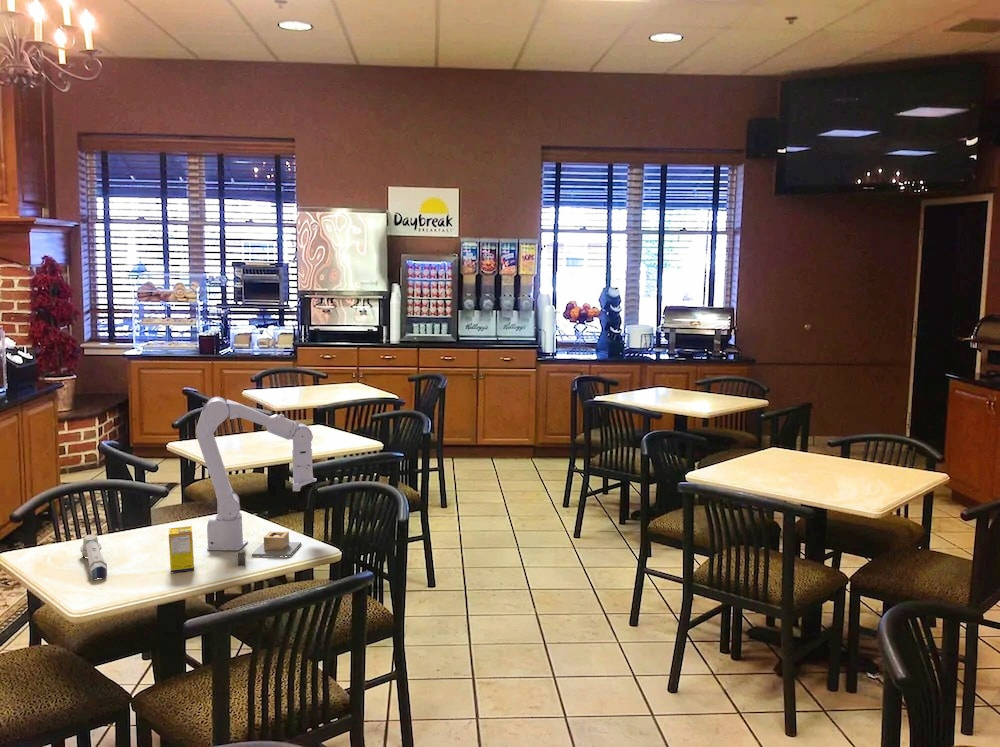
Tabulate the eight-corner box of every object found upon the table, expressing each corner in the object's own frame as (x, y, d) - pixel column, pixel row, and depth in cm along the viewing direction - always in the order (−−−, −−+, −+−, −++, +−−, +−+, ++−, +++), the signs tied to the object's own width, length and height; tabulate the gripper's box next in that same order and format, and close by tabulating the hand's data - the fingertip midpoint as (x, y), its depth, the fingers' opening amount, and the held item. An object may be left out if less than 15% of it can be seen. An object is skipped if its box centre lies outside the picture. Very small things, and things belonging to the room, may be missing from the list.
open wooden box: (264, 551, 239) (263, 537, 239) (270, 544, 245) (269, 531, 245) (283, 551, 239) (283, 537, 239) (289, 545, 245) (288, 531, 244)
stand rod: (236, 565, 230) (236, 553, 229) (239, 563, 232) (238, 550, 231) (243, 565, 230) (243, 553, 229) (246, 563, 232) (246, 550, 231)
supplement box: (193, 563, 231) (191, 525, 230) (194, 570, 226) (192, 531, 225) (170, 566, 229) (168, 527, 228) (170, 573, 224) (168, 534, 223)
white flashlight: (87, 568, 218) (78, 530, 238) (88, 591, 219) (80, 552, 240) (109, 564, 220) (99, 528, 241) (110, 587, 222) (100, 549, 243)
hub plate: (251, 556, 237) (251, 541, 237) (264, 544, 248) (264, 530, 248) (289, 557, 237) (289, 542, 236) (301, 544, 247) (300, 530, 247)
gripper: (308, 470, 243) (310, 515, 244) (322, 459, 257) (323, 502, 259) (285, 470, 243) (286, 515, 245) (299, 459, 258) (301, 502, 259)
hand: (303, 508), depth 252 cm, fingers closed
